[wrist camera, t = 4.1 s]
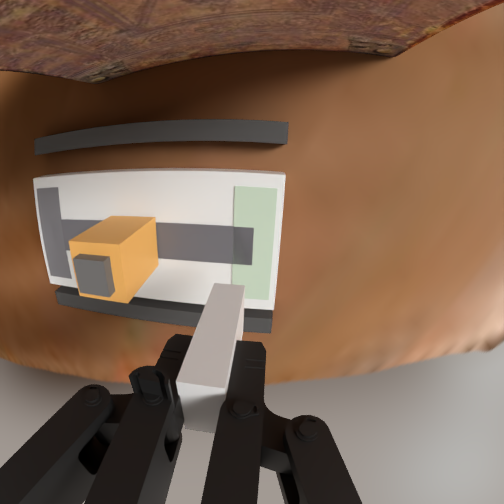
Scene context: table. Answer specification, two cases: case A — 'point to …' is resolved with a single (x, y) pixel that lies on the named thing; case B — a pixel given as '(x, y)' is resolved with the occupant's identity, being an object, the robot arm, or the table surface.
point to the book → (207, 30)
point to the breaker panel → (174, 226)
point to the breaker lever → (115, 257)
